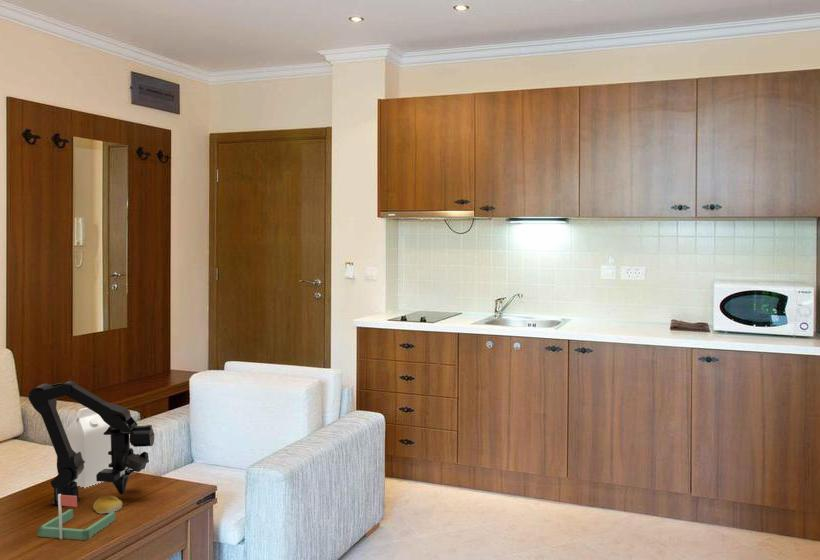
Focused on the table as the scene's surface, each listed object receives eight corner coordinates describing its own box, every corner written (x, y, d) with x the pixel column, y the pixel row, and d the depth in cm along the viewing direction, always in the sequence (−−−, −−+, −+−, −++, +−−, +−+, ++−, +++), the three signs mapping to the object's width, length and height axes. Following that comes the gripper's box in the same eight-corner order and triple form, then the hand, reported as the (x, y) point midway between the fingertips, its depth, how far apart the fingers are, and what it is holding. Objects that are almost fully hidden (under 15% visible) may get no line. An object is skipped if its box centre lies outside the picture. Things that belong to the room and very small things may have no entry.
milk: (94, 472, 260) (92, 402, 258) (115, 477, 254) (112, 406, 252) (64, 482, 250) (61, 409, 248) (85, 488, 244) (82, 413, 242)
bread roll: (99, 517, 219) (99, 504, 219) (90, 508, 226) (90, 496, 226) (126, 510, 225) (126, 497, 224) (117, 502, 231) (116, 490, 231)
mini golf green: (36, 537, 204) (34, 493, 203) (69, 517, 219) (68, 475, 218) (84, 541, 201) (82, 496, 201) (115, 520, 216) (114, 478, 215)
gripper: (127, 457, 221) (128, 506, 222) (158, 439, 240) (159, 485, 241) (94, 455, 223) (96, 503, 224) (127, 438, 242) (129, 483, 243)
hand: (121, 493), depth 233 cm, fingers closed
